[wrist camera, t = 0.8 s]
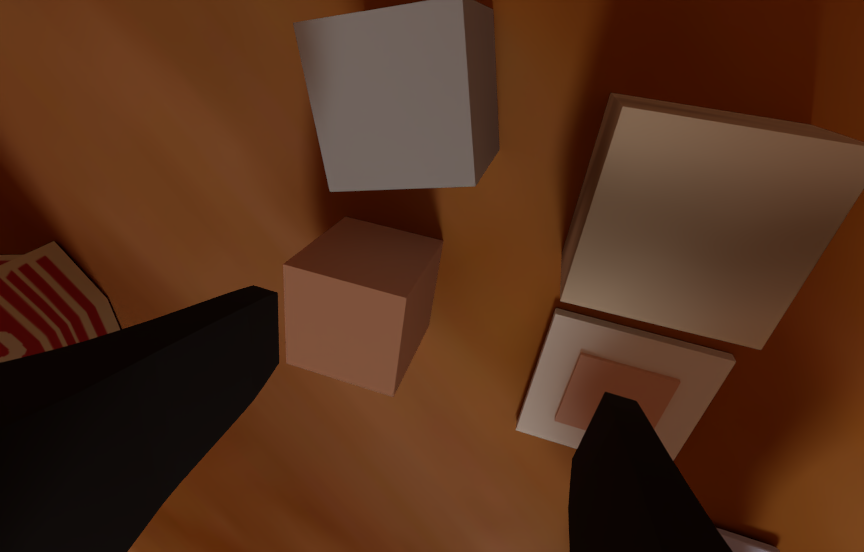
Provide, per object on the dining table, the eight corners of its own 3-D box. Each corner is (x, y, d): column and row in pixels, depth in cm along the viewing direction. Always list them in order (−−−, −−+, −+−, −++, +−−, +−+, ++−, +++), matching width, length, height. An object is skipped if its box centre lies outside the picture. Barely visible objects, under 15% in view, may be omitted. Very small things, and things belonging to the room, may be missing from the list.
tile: (661, 467, 21) (664, 479, 20) (516, 422, 22) (515, 433, 21) (732, 354, 17) (738, 364, 17) (555, 307, 19) (555, 316, 18)
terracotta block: (429, 325, 21) (393, 397, 17) (342, 300, 22) (286, 363, 17) (443, 240, 19) (406, 297, 14) (345, 216, 19) (283, 264, 15)
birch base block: (721, 287, 17) (761, 350, 13) (561, 251, 18) (560, 301, 14) (808, 123, 14) (887, 149, 10) (610, 91, 15) (622, 106, 11)
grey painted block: (499, 149, 16) (475, 186, 12) (387, 156, 18) (329, 191, 13) (493, 9, 14) (462, -6, 10) (367, 28, 16) (292, 22, 11)
